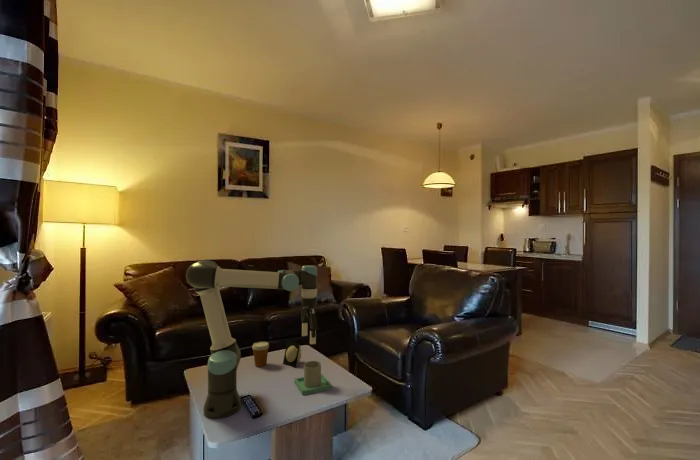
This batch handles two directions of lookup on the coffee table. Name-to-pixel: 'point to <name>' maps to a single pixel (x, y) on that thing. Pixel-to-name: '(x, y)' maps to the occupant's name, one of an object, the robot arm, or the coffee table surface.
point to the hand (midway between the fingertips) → (308, 339)
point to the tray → (304, 390)
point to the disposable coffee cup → (260, 353)
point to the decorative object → (292, 354)
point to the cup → (312, 374)
